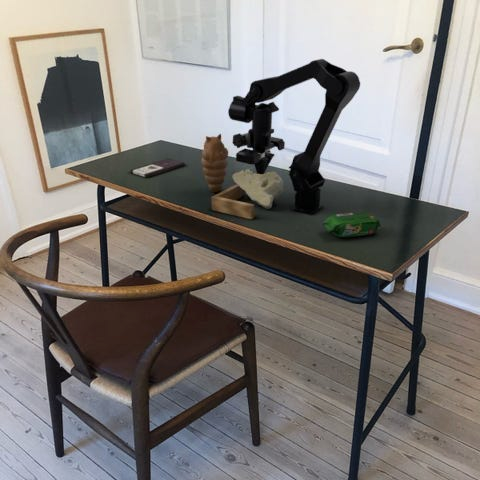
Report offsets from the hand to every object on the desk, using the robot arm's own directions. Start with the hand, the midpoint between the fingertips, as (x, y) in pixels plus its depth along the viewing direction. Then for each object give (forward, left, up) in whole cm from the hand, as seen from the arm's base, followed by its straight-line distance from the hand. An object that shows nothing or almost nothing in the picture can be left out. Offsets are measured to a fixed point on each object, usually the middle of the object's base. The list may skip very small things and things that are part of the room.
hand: (260, 177), depth 162 cm
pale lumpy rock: (-1, +4, -6) cm, 8 cm away
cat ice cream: (+15, +4, -6) cm, 16 cm away
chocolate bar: (+47, -5, -6) cm, 47 cm away
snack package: (-35, +12, -6) cm, 38 cm away
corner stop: (0, +10, -6) cm, 11 cm away
